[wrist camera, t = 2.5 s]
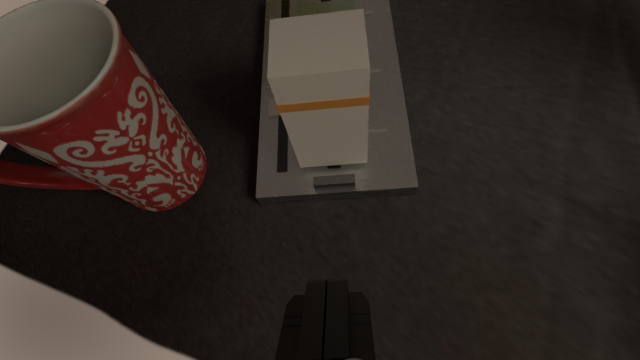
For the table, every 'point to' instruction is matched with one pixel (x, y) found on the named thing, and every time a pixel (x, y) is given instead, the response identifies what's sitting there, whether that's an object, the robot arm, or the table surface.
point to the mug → (90, 109)
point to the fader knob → (322, 85)
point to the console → (383, 126)
